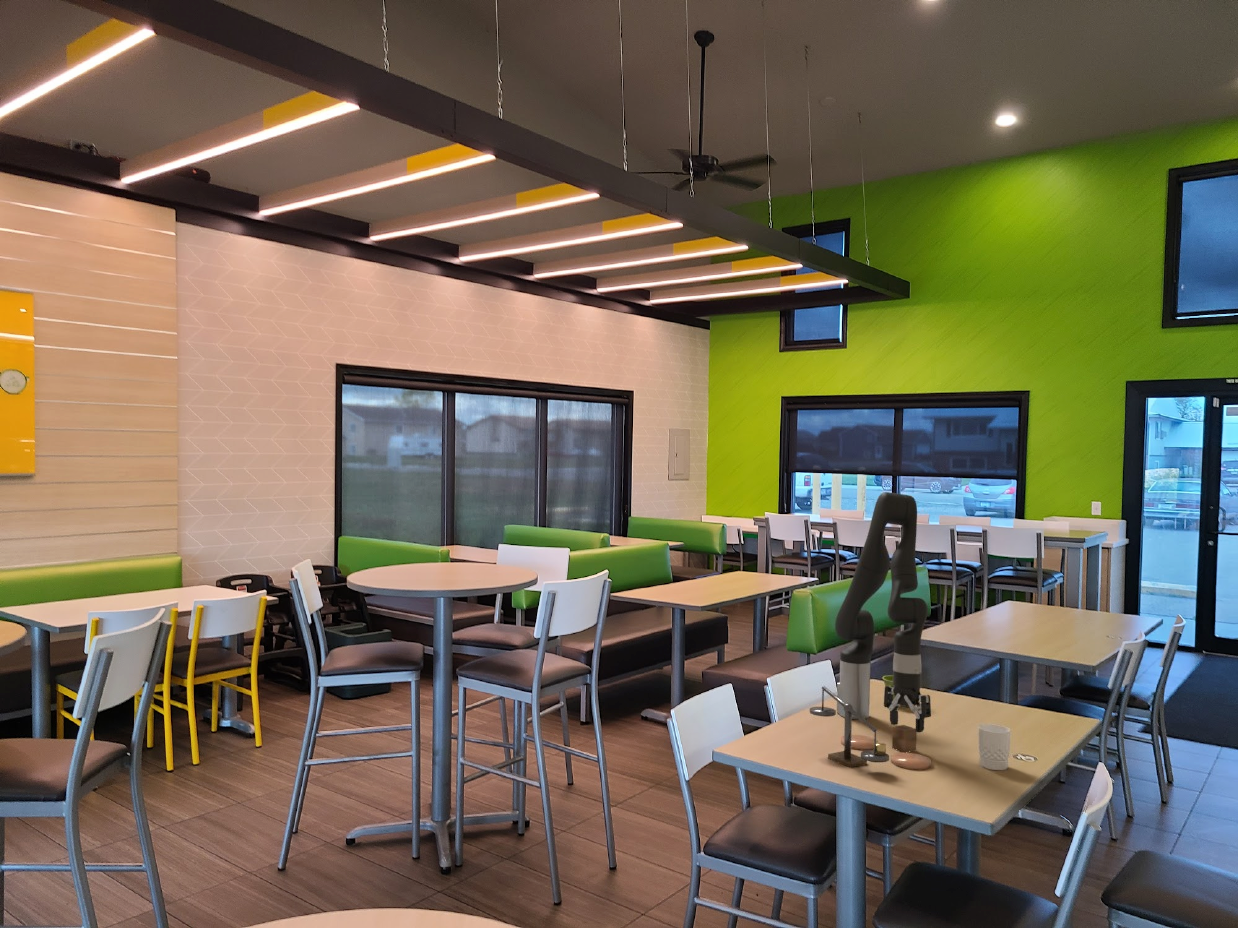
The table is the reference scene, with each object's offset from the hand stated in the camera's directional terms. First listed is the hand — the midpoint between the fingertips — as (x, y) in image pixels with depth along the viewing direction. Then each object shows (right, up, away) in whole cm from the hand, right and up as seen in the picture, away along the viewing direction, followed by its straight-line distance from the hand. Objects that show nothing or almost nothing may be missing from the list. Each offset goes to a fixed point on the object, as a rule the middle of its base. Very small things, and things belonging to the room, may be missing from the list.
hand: (906, 728), depth 243 cm
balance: (-19, -5, -11) cm, 23 cm away
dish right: (-3, -6, -12) cm, 13 cm away
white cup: (+19, -7, -13) cm, 24 cm away
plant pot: (+12, -7, +48) cm, 50 cm away
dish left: (-12, -6, +4) cm, 14 cm away
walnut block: (-1, -6, 0) cm, 6 cm away
